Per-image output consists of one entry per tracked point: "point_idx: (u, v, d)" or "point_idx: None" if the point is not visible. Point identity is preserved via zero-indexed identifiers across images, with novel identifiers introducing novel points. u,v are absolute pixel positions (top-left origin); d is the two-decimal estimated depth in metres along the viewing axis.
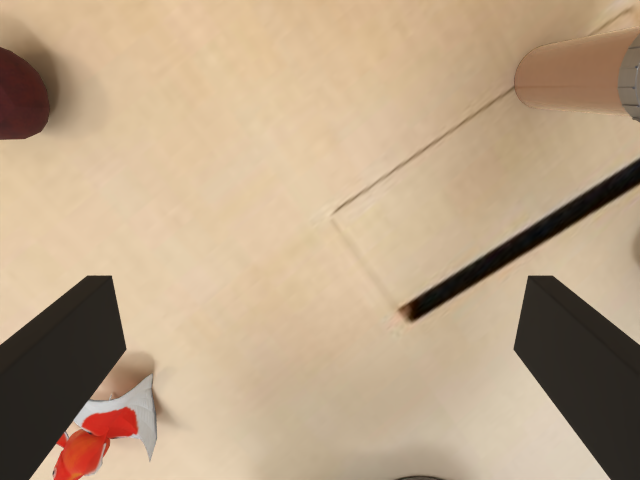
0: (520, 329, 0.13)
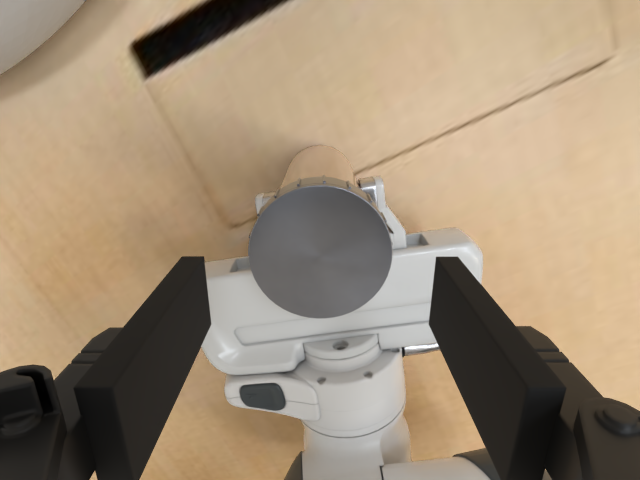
0: (431, 306, 0.14)
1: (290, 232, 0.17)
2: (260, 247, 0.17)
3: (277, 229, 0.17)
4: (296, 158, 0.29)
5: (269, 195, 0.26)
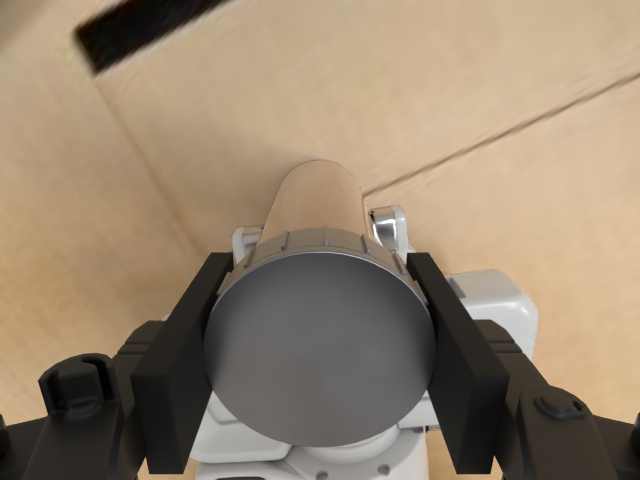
0: None
1: (270, 324, 0.10)
2: (221, 346, 0.10)
3: (248, 320, 0.10)
4: (289, 178, 0.22)
5: (251, 232, 0.19)
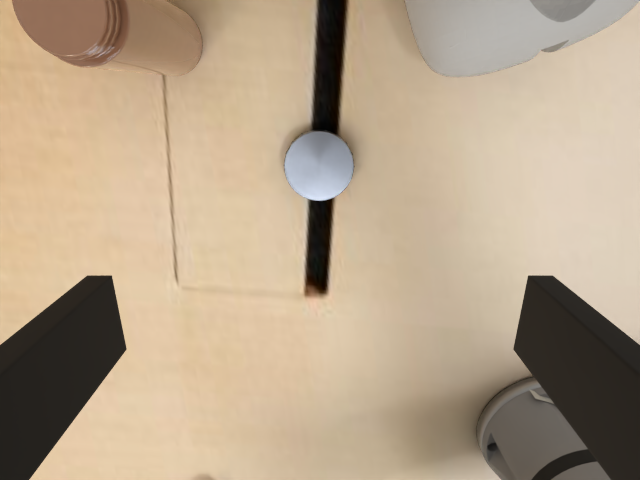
0: (519, 329, 0.13)
1: (306, 152, 0.35)
2: (291, 158, 0.36)
3: (300, 150, 0.35)
4: (191, 30, 0.31)
5: None
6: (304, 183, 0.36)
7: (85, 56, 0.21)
